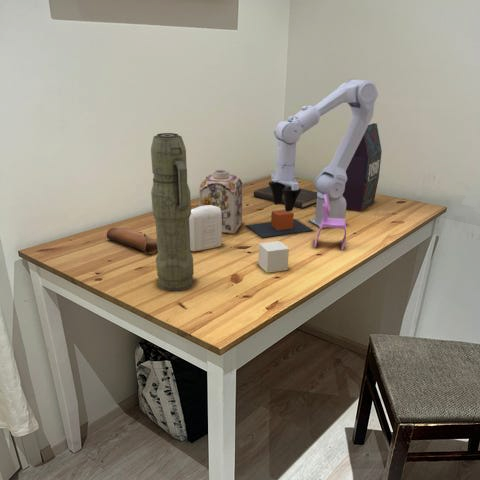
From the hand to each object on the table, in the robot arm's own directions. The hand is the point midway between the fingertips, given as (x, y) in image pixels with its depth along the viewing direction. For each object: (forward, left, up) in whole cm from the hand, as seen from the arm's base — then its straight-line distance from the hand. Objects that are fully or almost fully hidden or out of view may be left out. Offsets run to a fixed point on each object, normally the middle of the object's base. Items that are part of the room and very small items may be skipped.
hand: (283, 207), depth 154 cm
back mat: (+1, 0, -7) cm, 7 cm away
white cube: (+17, +27, -7) cm, 33 cm away
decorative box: (-39, -13, -7) cm, 42 cm away
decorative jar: (+18, -8, -7) cm, 21 cm away
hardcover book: (-19, -30, -7) cm, 36 cm away
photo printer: (+29, +7, -7) cm, 31 cm away
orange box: (0, 0, -7) cm, 7 cm away
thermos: (+44, +27, -7) cm, 52 cm away
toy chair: (-6, +19, -7) cm, 21 cm away
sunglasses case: (+47, -3, -7) cm, 48 cm away
